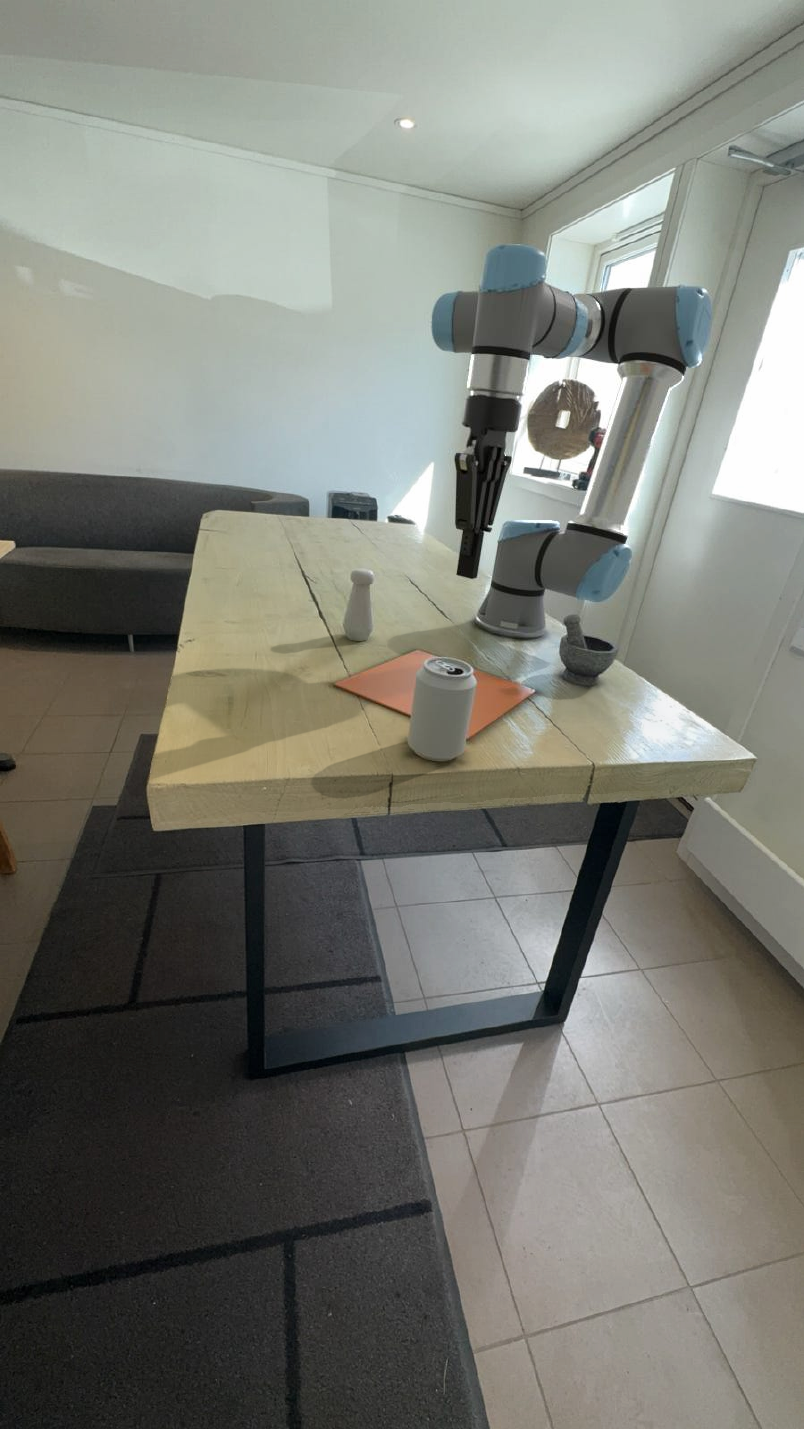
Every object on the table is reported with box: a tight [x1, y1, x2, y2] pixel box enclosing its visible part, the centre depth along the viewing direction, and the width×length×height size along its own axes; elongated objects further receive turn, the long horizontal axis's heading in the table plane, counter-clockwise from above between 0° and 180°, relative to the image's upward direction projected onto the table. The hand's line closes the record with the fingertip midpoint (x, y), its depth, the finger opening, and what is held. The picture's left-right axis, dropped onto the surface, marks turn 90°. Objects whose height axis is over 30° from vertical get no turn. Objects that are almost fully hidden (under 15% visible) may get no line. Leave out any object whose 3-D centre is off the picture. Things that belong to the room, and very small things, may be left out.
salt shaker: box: [342, 567, 375, 642], centre depth 110 cm, size 6×6×13 cm
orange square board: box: [333, 649, 537, 741], centre depth 95 cm, size 24×24×1 cm
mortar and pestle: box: [558, 613, 619, 687], centre depth 104 cm, size 11×9×12 cm
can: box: [407, 656, 477, 762], centre depth 74 cm, size 8×8×12 cm
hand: (466, 576), depth 87 cm, fingers closed
